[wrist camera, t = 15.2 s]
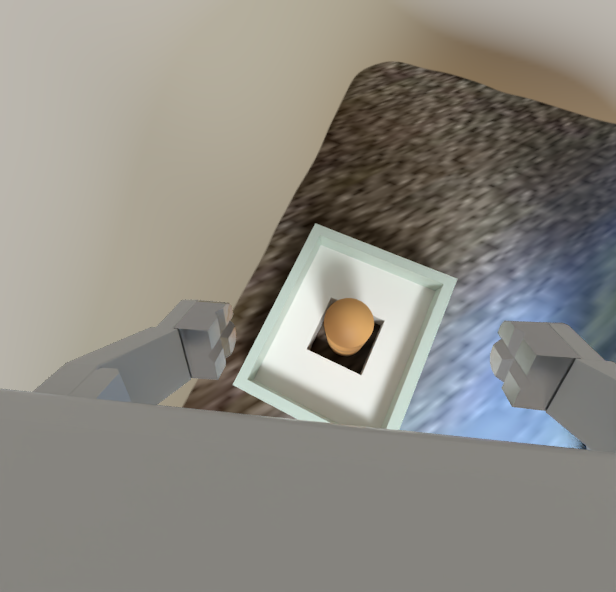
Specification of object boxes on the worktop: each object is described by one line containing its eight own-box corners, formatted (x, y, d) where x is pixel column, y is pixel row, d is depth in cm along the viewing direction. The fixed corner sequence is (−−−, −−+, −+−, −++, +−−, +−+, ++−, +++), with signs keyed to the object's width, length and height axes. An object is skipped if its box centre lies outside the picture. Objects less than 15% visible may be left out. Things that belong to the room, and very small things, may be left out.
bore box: (318, 245, 38) (315, 223, 32) (439, 294, 35) (457, 278, 30) (248, 383, 34) (232, 384, 29) (376, 451, 31) (385, 465, 26)
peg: (351, 313, 35) (357, 289, 25) (370, 344, 34) (383, 331, 24) (320, 331, 35) (314, 313, 25) (339, 363, 34) (340, 356, 24)
